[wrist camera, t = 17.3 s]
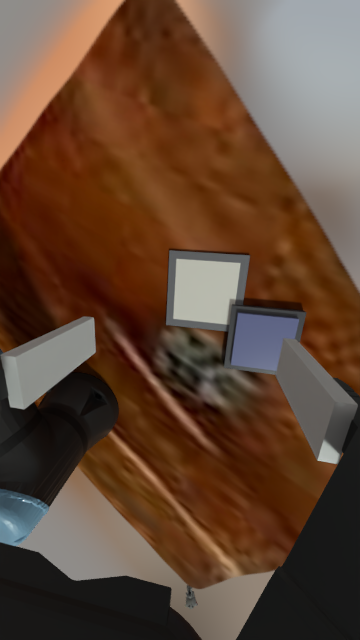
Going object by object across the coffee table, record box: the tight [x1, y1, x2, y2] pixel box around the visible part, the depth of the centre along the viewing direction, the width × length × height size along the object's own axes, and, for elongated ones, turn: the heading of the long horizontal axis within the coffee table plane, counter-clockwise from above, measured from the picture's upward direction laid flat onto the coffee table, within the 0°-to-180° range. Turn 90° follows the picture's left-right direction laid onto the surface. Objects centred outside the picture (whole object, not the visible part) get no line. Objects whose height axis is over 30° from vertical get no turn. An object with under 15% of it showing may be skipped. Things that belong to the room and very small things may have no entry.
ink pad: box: [224, 304, 306, 375], centre depth 36 cm, size 11×11×2 cm
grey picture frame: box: [166, 250, 250, 331], centre depth 36 cm, size 12×12×1 cm
